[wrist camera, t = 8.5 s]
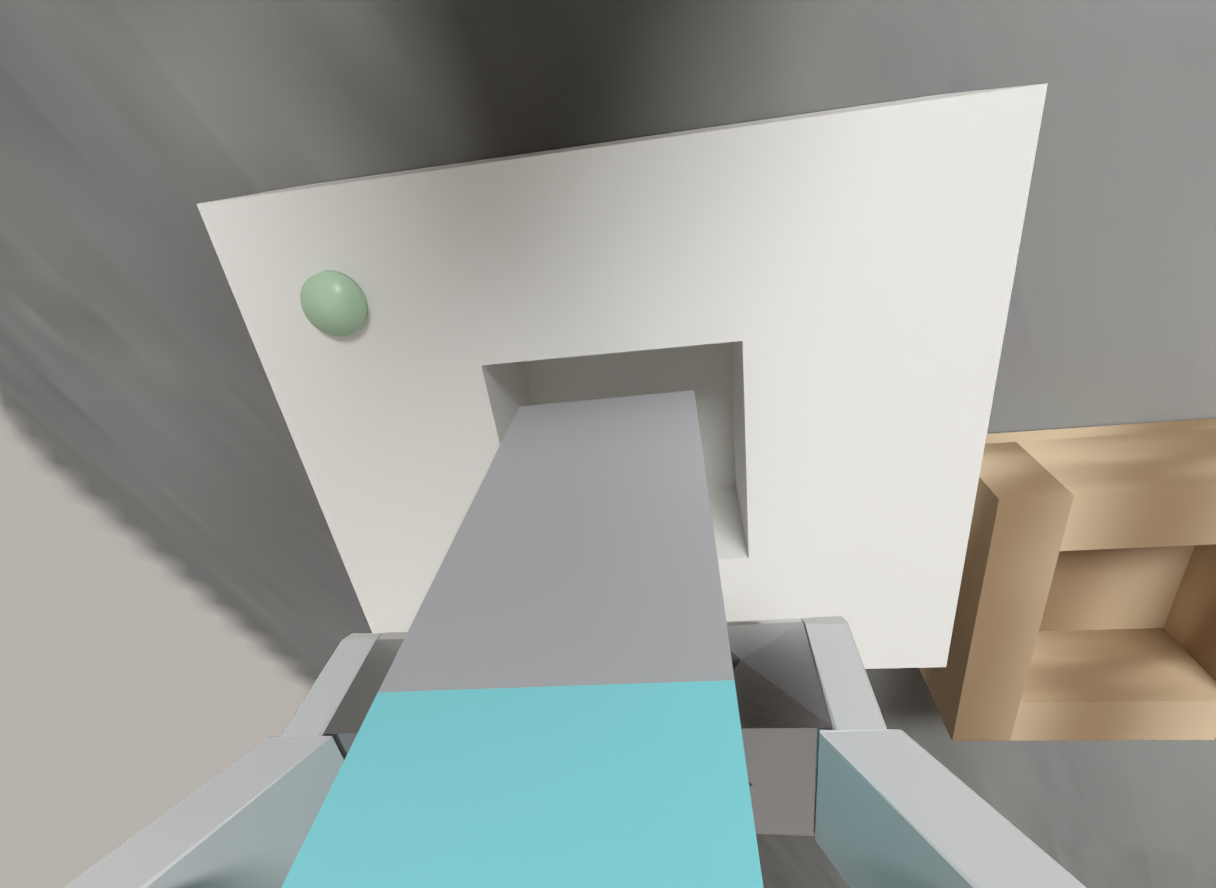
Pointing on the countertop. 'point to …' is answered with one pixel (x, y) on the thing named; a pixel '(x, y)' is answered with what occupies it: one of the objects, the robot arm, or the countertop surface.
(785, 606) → the port
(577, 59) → the countertop surface
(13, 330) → the countertop surface
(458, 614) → the plug
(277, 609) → the countertop surface
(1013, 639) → the square wooden tray
